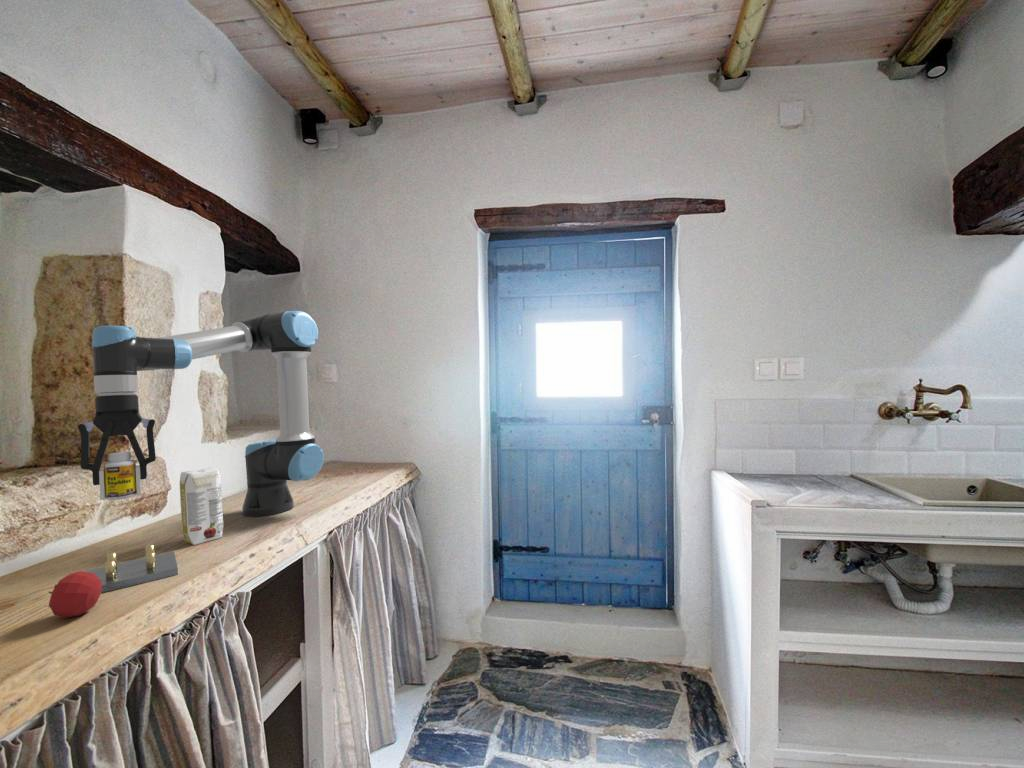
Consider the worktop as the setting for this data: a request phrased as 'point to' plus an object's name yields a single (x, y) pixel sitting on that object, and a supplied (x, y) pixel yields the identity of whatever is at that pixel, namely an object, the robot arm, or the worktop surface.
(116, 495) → the supplement bottle
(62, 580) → the tomato
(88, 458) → the robot arm
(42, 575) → the worktop surface
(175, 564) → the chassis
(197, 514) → the juice carton
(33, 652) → the worktop surface
